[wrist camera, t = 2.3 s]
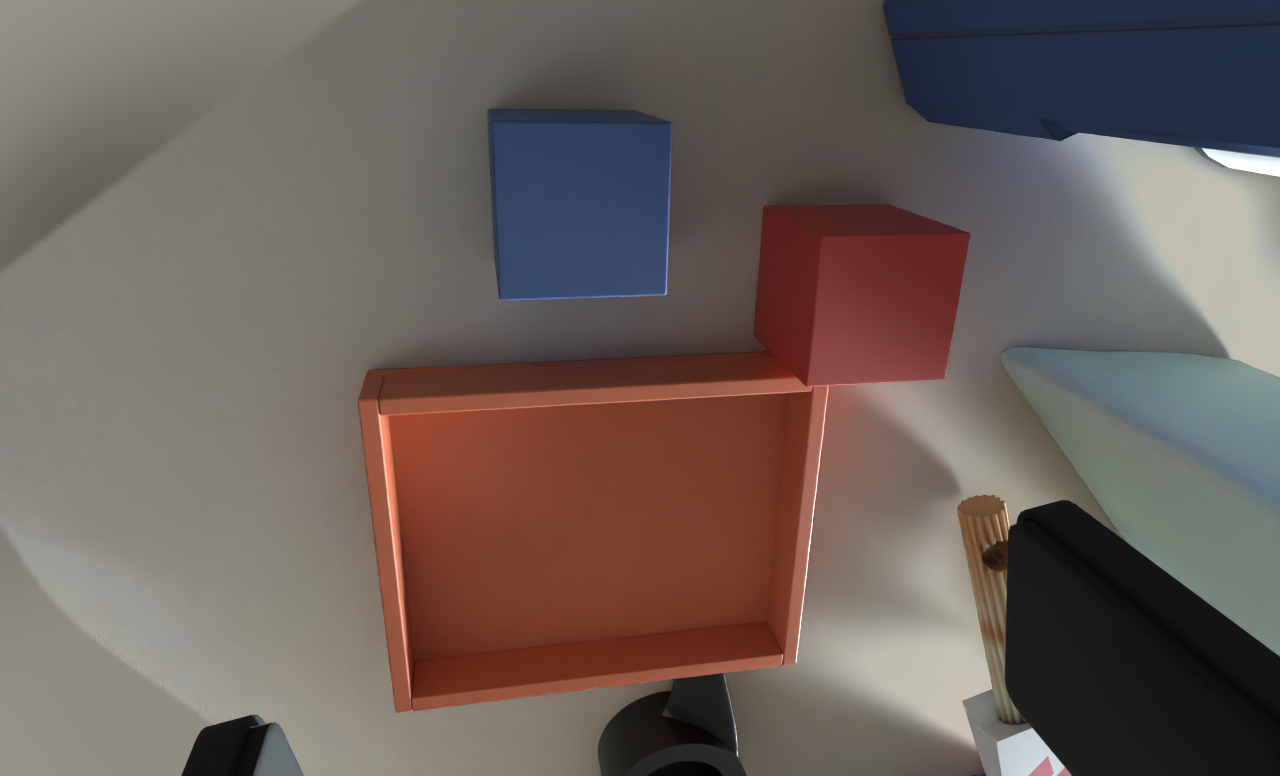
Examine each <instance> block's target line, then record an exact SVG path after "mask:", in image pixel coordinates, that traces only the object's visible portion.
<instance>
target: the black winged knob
mask: <svg viewBox="0 0 1280 776" xmlns="http://www.w3.org/2000/svg"><path fill="white" fill-rule="evenodd" d="M598 759H599V765H600V770H601V776H746V773H745V771H744V768H743V765H742V763H741V760H740V758H739V755H738V744H737V733H736V726H735V720H734V714H733V709H732V704H731V700H730V695H729V691H728V687H727V683H726V679H725V675H724V673H718V674H710V675H701V676H693V677H685V678H677V679H674V682H673V687H672V691H667V692H660V693H656V694H652V695H649V696H646V697H643V698H641V699H639V700H637V701H635V702H633V703H631V704H630V705H628V706H626V707H625V708H624V709H622V710H621V711H620V712H619V713H618V714H616V715H615V716H614V718H613V719H612V720H611V721H610V722H609V723H608V725H607V726H606V728H605V730H604V731H603V733H602V736H601V738H600V741H599V746H598Z"/></svg>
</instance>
